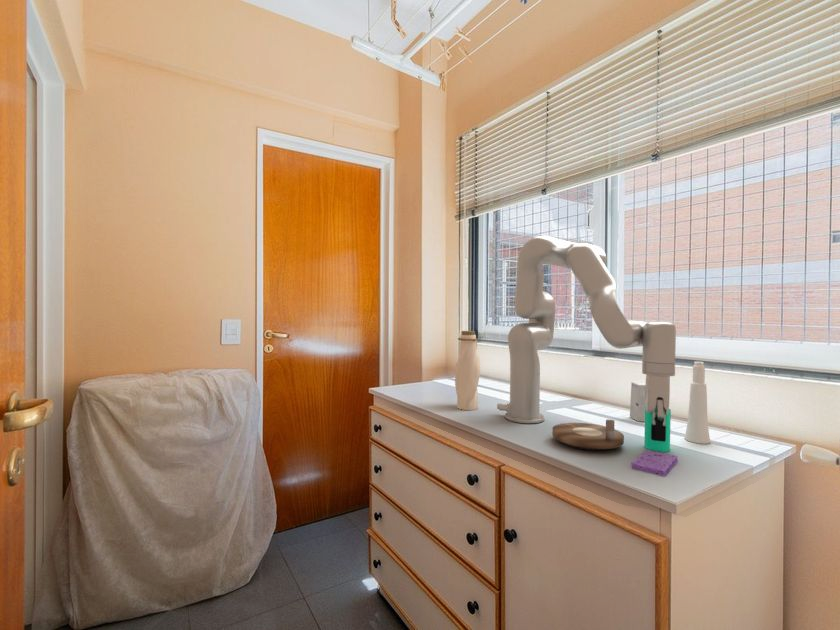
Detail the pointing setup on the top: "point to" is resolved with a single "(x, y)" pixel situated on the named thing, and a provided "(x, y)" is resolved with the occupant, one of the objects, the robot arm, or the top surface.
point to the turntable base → (586, 448)
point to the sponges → (655, 462)
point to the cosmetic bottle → (698, 408)
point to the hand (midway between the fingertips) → (657, 436)
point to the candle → (648, 441)
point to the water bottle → (467, 372)
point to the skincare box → (637, 401)
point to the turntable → (589, 435)
